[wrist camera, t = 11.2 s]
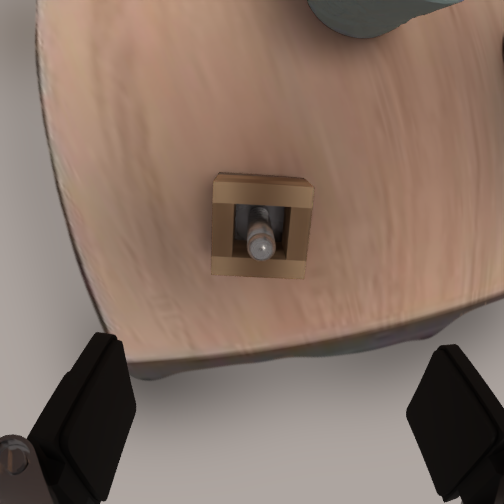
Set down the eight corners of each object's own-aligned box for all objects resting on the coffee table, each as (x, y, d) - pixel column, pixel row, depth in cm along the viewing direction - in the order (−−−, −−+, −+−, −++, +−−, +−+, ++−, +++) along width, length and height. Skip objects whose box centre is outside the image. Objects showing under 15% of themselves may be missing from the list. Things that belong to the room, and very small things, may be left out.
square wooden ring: (305, 179, 26) (314, 187, 22) (297, 259, 28) (303, 279, 25) (218, 174, 26) (213, 181, 22) (216, 255, 28) (211, 274, 24)
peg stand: (303, 178, 27) (326, 199, 18) (294, 256, 29) (310, 305, 21) (219, 172, 26) (204, 190, 18) (216, 251, 29) (203, 299, 21)
